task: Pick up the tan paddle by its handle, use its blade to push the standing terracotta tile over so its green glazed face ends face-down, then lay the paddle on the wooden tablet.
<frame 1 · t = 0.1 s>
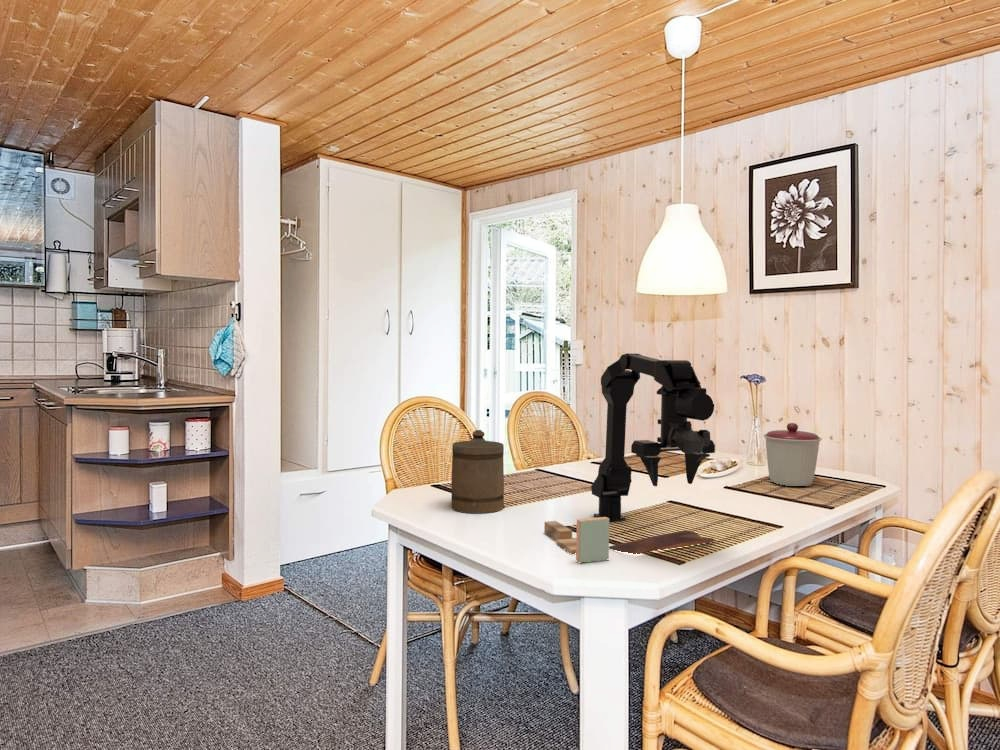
hand: (672, 484, 146), 15 cm above the table, tool pointing down, fingers open, 9 cm apart
wooden container: (477, 508, 183), on the table
wooden tablet: (661, 547, 150), on the table
tan paddle: (564, 542, 150), on the table
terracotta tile: (592, 560, 137), on the table
canister: (790, 485, 220), on the table
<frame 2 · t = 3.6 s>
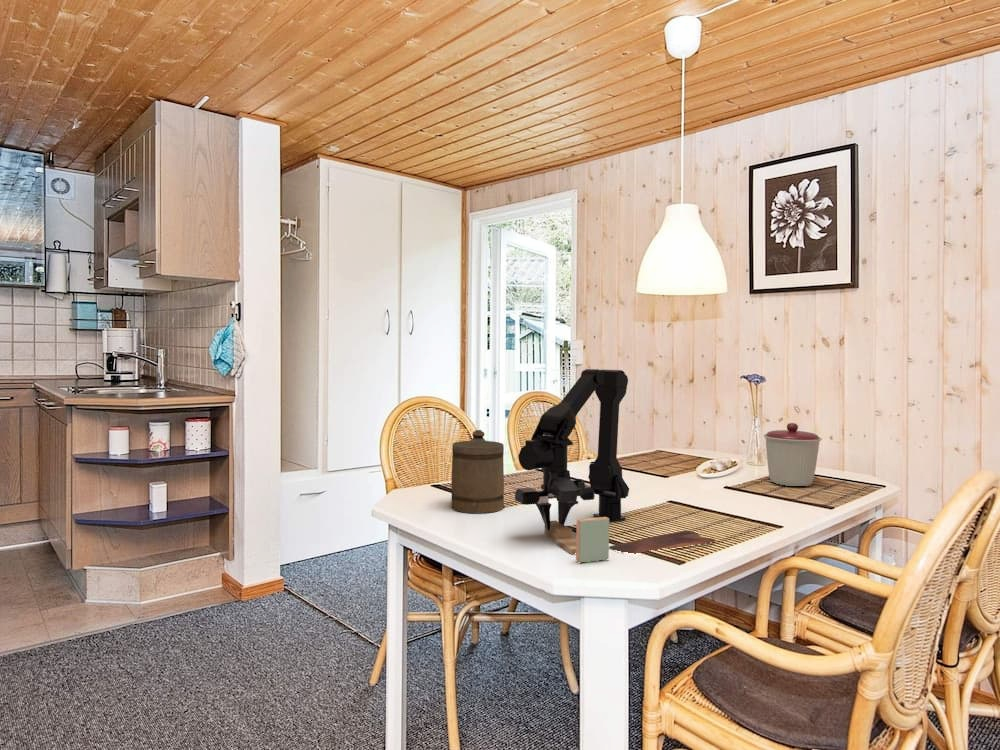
hand: (554, 529, 156), 2 cm above the table, tool pointing down, fingers closed on tan paddle, 3 cm apart
tan paddle: (564, 542, 150), on the table, touching gripper
everything else where it was.
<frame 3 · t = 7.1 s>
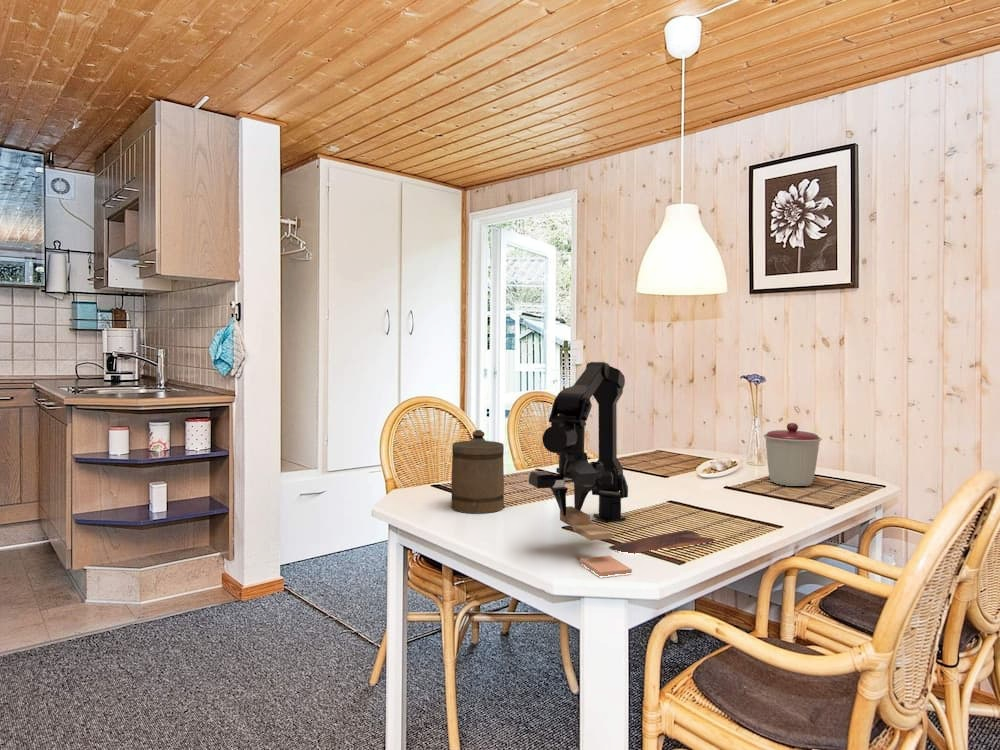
hand: (570, 515, 147), 7 cm above the table, tool pointing down, fingers closed on tan paddle, 3 cm apart
tan paddle: (581, 528, 142), point 6 cm above the table, touching gripper
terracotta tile: (594, 560, 136), on the table, tilted 90°
everything else where it was.
when the fingers open (5 cm above the table, at t = 11.3 s): tan paddle drops 3 cm, point 1 cm above the table.
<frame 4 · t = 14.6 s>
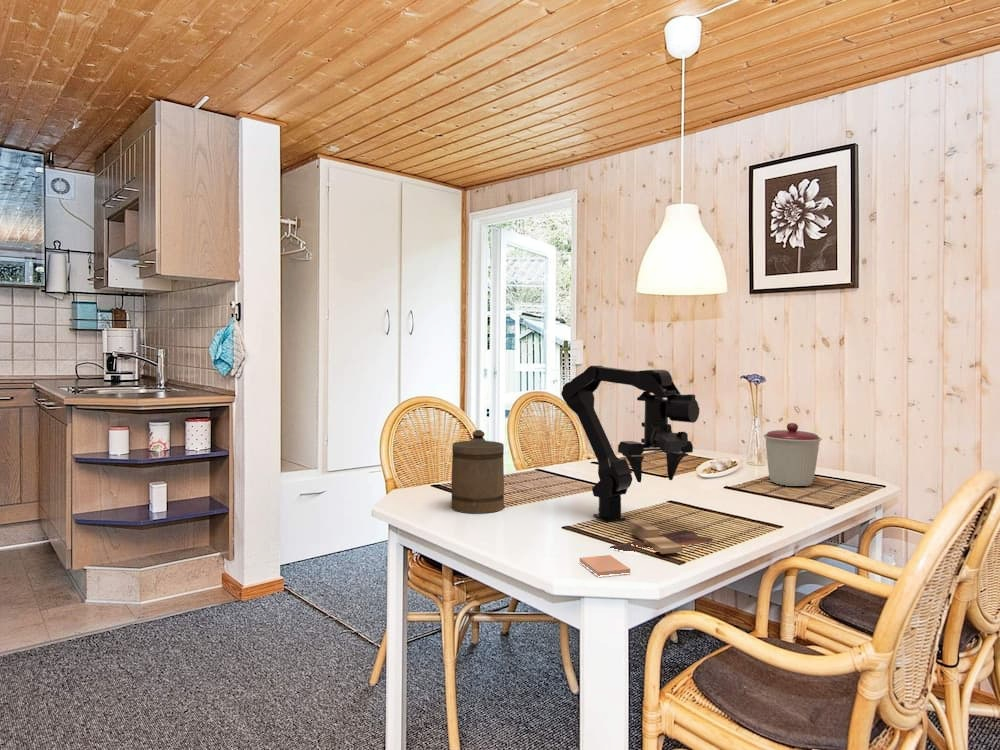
hand: (655, 481, 163), 12 cm above the table, tool pointing down, fingers open, 9 cm apart
tan paddle: (651, 541, 149), point 1 cm above the table
at the end: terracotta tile tilted 90°; tan paddle touching wooden tablet; the gripper is holding nothing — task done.
